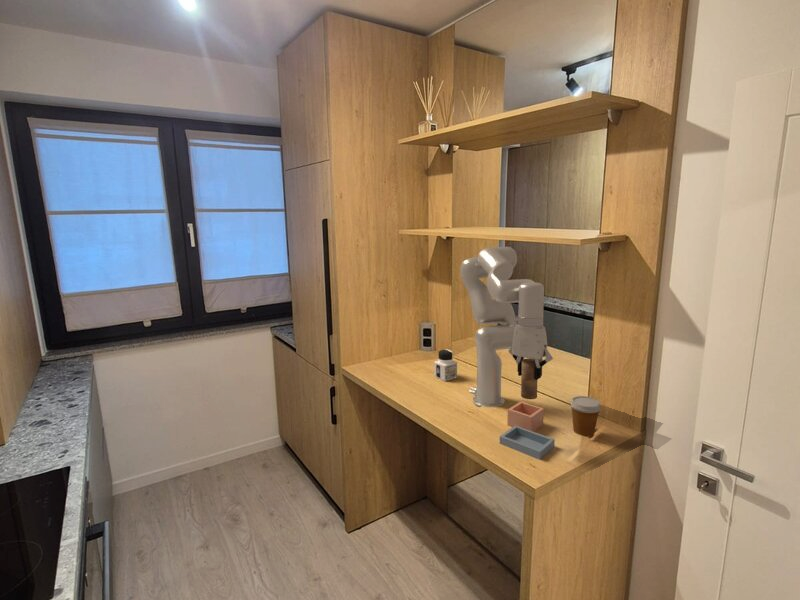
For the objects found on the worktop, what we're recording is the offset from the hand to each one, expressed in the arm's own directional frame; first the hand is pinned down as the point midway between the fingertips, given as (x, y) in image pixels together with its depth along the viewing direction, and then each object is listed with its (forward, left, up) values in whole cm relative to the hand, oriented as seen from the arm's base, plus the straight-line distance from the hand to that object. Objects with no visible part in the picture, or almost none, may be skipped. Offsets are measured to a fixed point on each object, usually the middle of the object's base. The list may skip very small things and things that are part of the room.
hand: (529, 376), depth 139 cm
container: (-56, +27, -23) cm, 67 cm away
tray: (+2, -4, -23) cm, 23 cm away
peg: (0, 0, -7) cm, 7 cm away
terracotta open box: (-5, +8, -23) cm, 25 cm away
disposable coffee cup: (+12, +17, -23) cm, 31 cm away
